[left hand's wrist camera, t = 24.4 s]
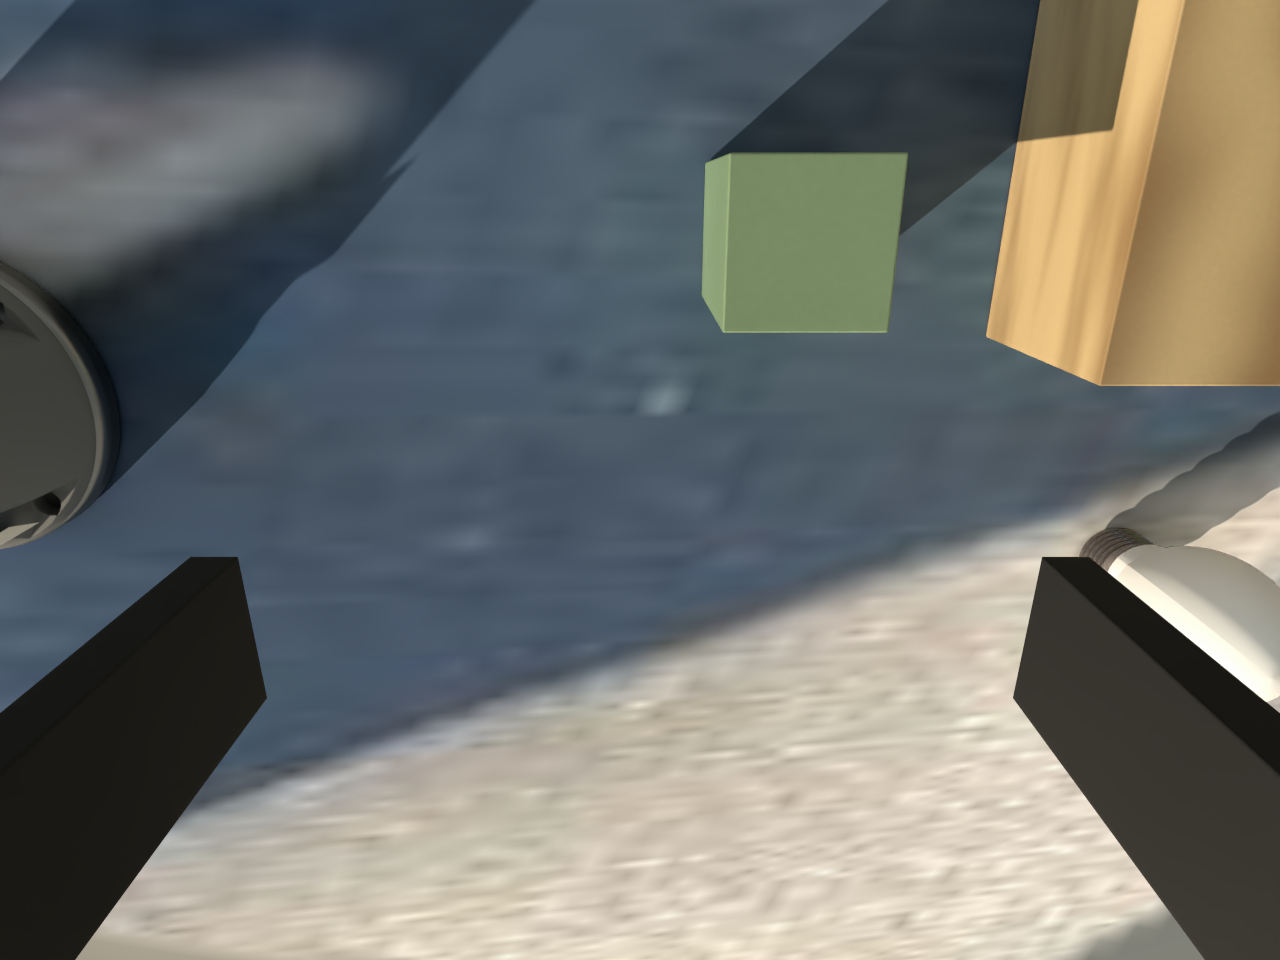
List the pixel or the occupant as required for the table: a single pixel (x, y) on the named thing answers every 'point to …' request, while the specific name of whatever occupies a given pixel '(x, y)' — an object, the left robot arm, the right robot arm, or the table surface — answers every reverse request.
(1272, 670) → the light bulb
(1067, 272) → the plank
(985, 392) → the table surface
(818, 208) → the cap block
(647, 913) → the table surface
